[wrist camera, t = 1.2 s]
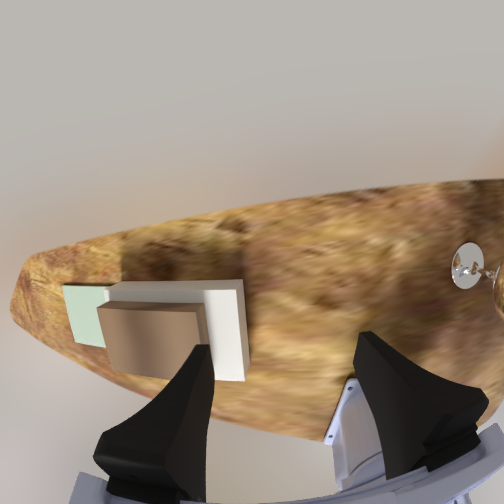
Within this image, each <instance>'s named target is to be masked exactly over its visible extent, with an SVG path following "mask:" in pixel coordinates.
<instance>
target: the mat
mask: <svg viewBox="0 0 504 504" xmlns="http://www.w3.org/2000/svg"><path fill="white" fill-rule="evenodd" d="M108 287H110V286H75V285H63V286H62V289H63V294H64V299H65V303H66V308H67V312H68V316H69V320H70V324H71V328H72V331H73V335H74V338H75V342H78V343H83V344H88V345H93V346H99V347H105V348H106V345H105V342H104V338H103V334H102V330H101V326H100V322H99V318H98V313H97V309H96V308H97V307H99V306H100V305H102V304H104V303H106V301H105V296H104V291H103V290H104V289H106V288H108Z"/></svg>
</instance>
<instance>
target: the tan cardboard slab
mask: <svg viewBox="0 0 504 504" xmlns="http://www.w3.org/2000/svg"><path fill="white" fill-rule="evenodd" d="M96 309H97V313H98V318H99V322H100V326H101V330H102V334H103V338H104V342H105V345H106V349H107V352H108V356H109V359H110V362H111V365H112V369H113V370H114V371H119V372H124V373H129V374H135V375H141V376H147V377H154V378H161V379H168V380H171V379H172V378H173V377H174V376H175V374H176V373H177V372H178V370H179V369H180V368H181V366H182V365H183V364H184V362H185V361H186V359H187V358H188V356H189V355H190V353H191V351H192V350H193V348H194V346H195V345H196V344H209V345H210V342H209V335H208V328H207V320H206V313H205V305H204V303H163V302H129V301H108V302H106V303H104V304H102V305H100V306H99V307H97V308H96ZM210 351H211V349H210ZM211 356H212V355H211Z"/></svg>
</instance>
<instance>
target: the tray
mask: <svg viewBox="0 0 504 504" xmlns="http://www.w3.org/2000/svg"><path fill="white" fill-rule="evenodd" d="M103 291H104V296H105V301H106V302H108V301H129V302H163V303H204V305H205V313H206V320H207V328H208V335H209V342H210V349H211V355H212V362H213V367H214V372H215V380H228V381H245V379H246V375H247V372H248V368H249V365H250V357H249V346H248V335H247V323H246V311H245V299H244V287H243V279H235V280H198V281H121V282H119V283H117V284H114V285H112V286H110V287H108V288H106V289H104V290H103Z"/></svg>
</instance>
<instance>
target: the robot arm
mask: <svg viewBox="0 0 504 504" xmlns="http://www.w3.org/2000/svg"><path fill="white" fill-rule="evenodd" d="M353 365H354V369H355V373H356V376H357V379H356V378H351V379H349V380H347V382H346V384H345V387H344V390H343V393H342V396H341V398H340V401H339V404H338V406H337V409H336V411H335V414H334V416H333V419H332V421H331V424H330V426H329V428H328V431H327V433H326V435H325V438H324V440H323V442H324V444H328V445H330V444H331V445H332V448H333V458H334V468H335V479H336V483H337V485H338V487H339V488H340V490H341V491H339V492H337V493H335V494H334V495H329V496H323V497H317V498H311V499H305V500H296V501H288V502H276V503H260V504H472V503H471V501H470V498H469V495H468V493H469V491H471V490H472V489H474V488H476V487H477V486H479V485H480V484H481V483H483V482H484V481H486V480H487V479H488V478H490V477H491V476H492V475H493V474H495V473H496V472H497V471H498V470H499V469H501V468H502V467H503V466H504V434H503V432H502V430H501V429H500V427H499V425H498V424H497V423H494V424H493V425H491V426H490V427H489V428H487V429H485V430H484V431H482V432H481V433H480V434H479V435H477V433H476V430H477V429H478V427H477V425H476V422H477V421H478V420H479V418H480V417H481V416H482V414H483V413H484V412H485V410H486V408H487V407H488V404H489V399H488V398H487V397H486V395H485V394H484V392H483V391H482V390H481V389H480V388H475V387H470V386H465V385H462V384H458V383H455V382H452V381H449V380H446V379H444V378H442V377H439V376H437V375H435V374H433V373H431V372H429V371H427V370H425V369H423V368H421V367H420V366H418V365H416V364H415V363H413V362H412V361H410V360H409V359H407V358H406V357H404V356H403V355H401V354H400V353H399V352H397V351H396V350H395V349H393V348H392V347H391V346H389V345H388V344H387V343H386V342H384V341H383V340H382V339H381V338H379V337H378V336H377V335H375V334H374V333H373V332H371V331H367V332H360V333H359V338H358V342H357V347H356V351H355V356H354V360H353ZM214 383H215V372H214V367H213V362H212V356H211V351H210V345H209V344H196V345H195V346H194V348H193V350H192V351H191V353H190V355H189V356H188V358H187V359H186V361H185V362H184V364H183V365H182V366H181V368H180V369H179V370H178V372H177V373H176V374H175V376H174V377H173V378H172V379H171V381H170V382H169V383H168V384H167V385H166V387H165V388H164V389H163V390H162V391H161V392H160V393H159V394H158V395H157V396H156V397H155V398H154V399H153V400H152V401H151V402H149V403H148V404H147V405H146V406H145V407H144V408H142V409H141V410H140V411H139V412H137V413H136V414H134V415H133V416H132V417H130V418H128V419H127V420H125V421H124V422H122V423H120V424H119V425H117V426H115V427H113V428H111V429H109V430H107V431H105V432H103V433H102V435H101V437H100V439H99V441H98V444H97V447H96V449H95V452H94V455H93V459H94V461H95V462H96V464H97V465H98V466H99V467H100V468H101V469H102V470H104V471H105V472H106V473H107V474H108V475H109V476H110V477H109V481H106V480H104V479H101V478H98V477H96V476H92V475H89V474H87V473H84V472H79V475H78V477H77V480H76V483H75V486H74V489H73V492H72V496H71V499H70V502H69V504H217V503H206V480H205V479H206V472H205V471H206V441H207V429H208V424H209V419H210V413H211V407H212V401H213V395H214ZM348 387H351V388H348ZM329 435H331V436H329Z"/></svg>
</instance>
